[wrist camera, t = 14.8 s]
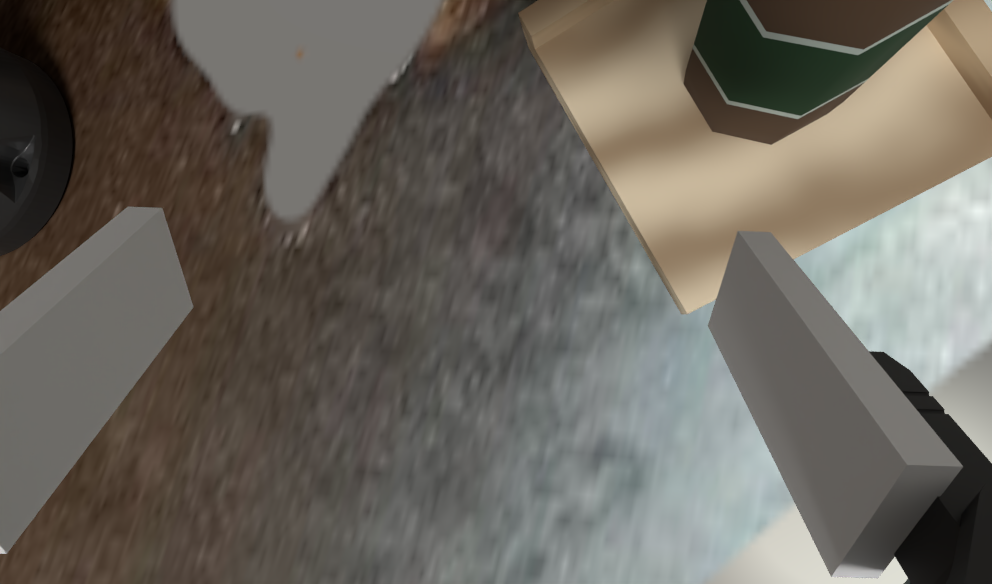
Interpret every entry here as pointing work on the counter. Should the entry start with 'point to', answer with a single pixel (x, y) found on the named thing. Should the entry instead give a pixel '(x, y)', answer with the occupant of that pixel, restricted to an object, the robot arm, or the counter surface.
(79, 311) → the robot arm
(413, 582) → the counter surface
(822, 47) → the beer bottle
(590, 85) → the wooden tray
